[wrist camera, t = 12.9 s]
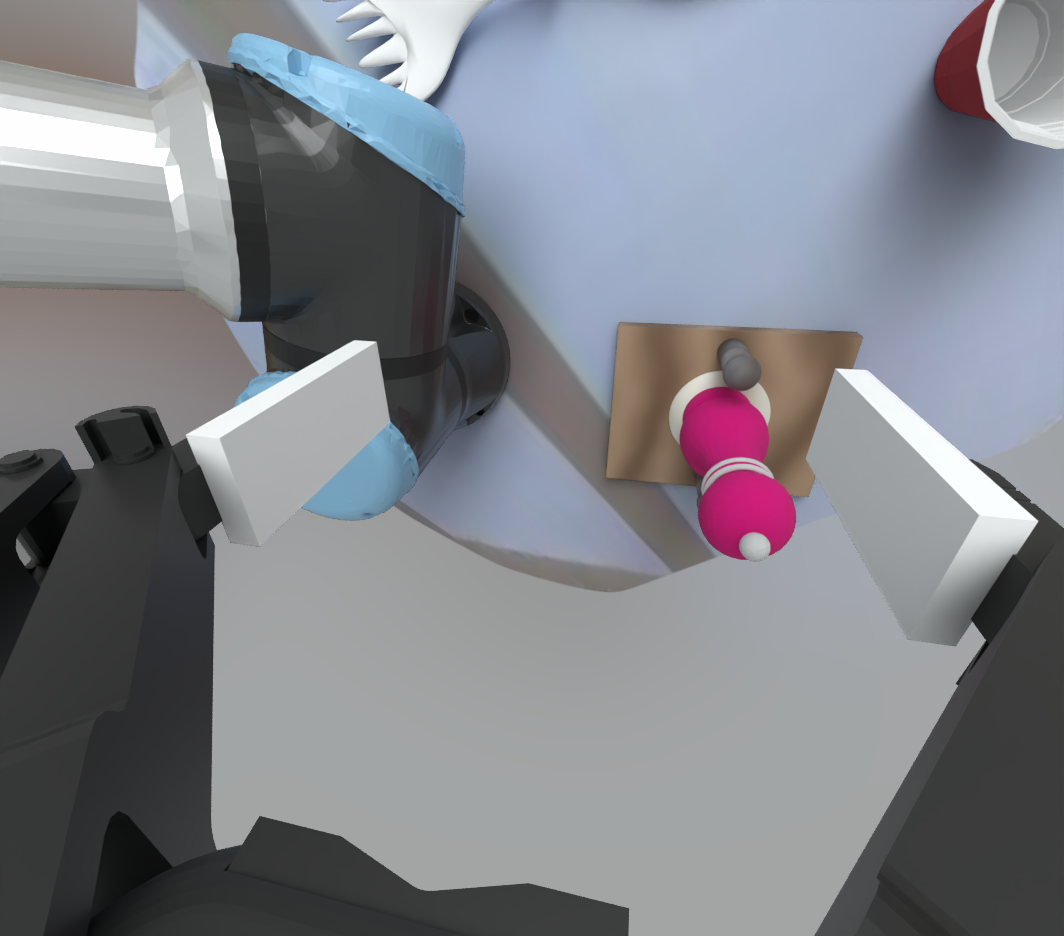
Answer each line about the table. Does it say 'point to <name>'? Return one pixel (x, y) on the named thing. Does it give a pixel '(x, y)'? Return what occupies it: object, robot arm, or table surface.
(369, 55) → the spoon
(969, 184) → the table surface
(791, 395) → the holder
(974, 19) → the plastic cup
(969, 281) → the table surface
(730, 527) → the pepper mill
